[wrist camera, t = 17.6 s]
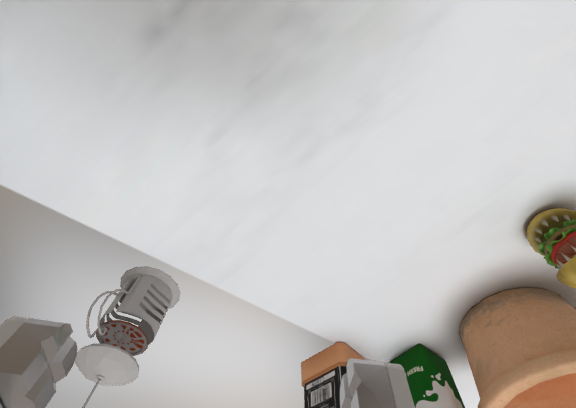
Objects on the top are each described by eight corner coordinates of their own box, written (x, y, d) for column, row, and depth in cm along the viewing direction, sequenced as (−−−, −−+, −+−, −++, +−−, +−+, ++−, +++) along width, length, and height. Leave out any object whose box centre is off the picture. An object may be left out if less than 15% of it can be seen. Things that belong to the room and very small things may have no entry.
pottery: (619, 291, 50) (723, 381, 38) (530, 376, 61) (589, 469, 48) (488, 258, 48) (552, 342, 36) (420, 352, 59) (452, 442, 46)
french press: (138, 315, 57) (36, 496, 36) (102, 264, 52) (-43, 441, 30) (190, 305, 56) (116, 490, 34) (158, 252, 50) (46, 430, 29)
